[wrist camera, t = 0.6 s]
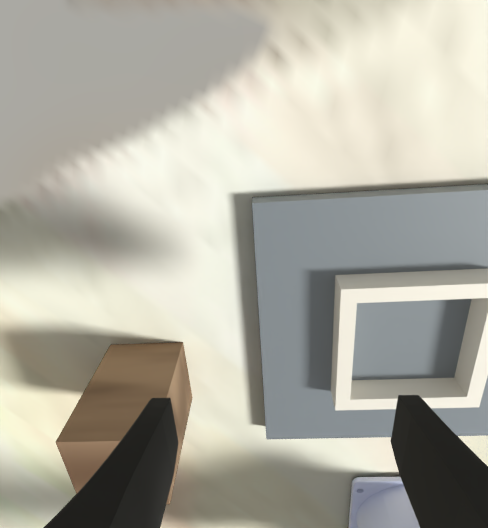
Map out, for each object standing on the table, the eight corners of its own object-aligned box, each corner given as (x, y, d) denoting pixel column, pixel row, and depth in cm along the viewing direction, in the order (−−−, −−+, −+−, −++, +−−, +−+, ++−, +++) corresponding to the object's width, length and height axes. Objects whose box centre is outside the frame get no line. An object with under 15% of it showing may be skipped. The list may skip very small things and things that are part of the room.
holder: (511, 421, 25) (536, 455, 23) (266, 426, 26) (267, 459, 24) (590, 178, 18) (638, 192, 16) (252, 197, 19) (251, 213, 17)
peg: (192, 397, 25) (169, 504, 19) (125, 399, 25) (81, 504, 19) (182, 342, 23) (154, 440, 17) (110, 344, 23) (55, 442, 17)
